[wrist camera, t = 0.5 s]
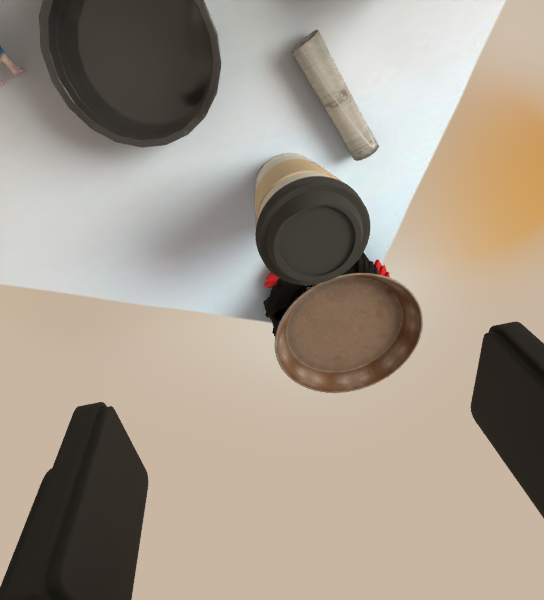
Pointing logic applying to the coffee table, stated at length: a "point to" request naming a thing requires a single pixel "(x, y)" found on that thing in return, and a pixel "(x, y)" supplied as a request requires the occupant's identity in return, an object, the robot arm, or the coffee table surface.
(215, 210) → the coffee table surface
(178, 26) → the pan
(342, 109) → the rod
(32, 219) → the coffee table surface
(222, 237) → the coffee table surface
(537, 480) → the robot arm
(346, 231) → the coffee cup
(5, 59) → the figurine
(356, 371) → the plant saucer
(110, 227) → the coffee table surface
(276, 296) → the toy
